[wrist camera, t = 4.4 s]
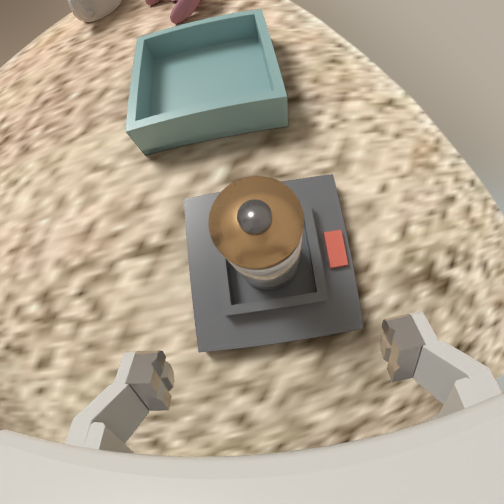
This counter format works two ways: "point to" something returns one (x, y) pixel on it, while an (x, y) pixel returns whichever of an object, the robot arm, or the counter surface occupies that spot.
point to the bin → (205, 83)
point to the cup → (92, 8)
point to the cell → (259, 230)
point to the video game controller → (180, 9)
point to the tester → (285, 298)
